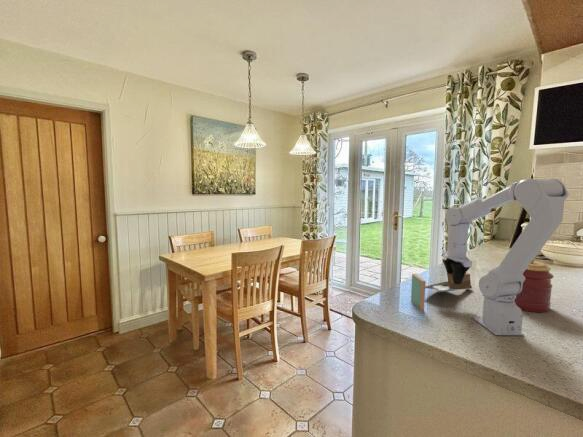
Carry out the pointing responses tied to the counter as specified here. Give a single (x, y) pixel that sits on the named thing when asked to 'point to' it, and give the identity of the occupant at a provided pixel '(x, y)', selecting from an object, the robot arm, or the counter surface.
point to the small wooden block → (451, 286)
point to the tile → (418, 291)
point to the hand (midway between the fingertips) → (454, 282)
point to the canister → (535, 288)
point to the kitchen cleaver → (437, 285)
